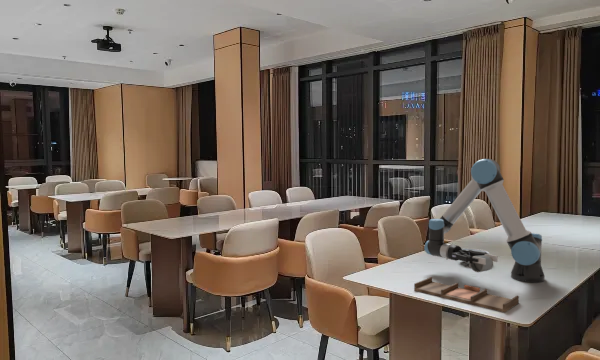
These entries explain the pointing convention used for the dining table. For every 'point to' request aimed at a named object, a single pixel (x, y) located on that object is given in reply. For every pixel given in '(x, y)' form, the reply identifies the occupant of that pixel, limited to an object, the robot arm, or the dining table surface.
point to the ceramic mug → (481, 267)
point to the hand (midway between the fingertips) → (491, 260)
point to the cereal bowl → (473, 250)
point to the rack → (466, 295)
